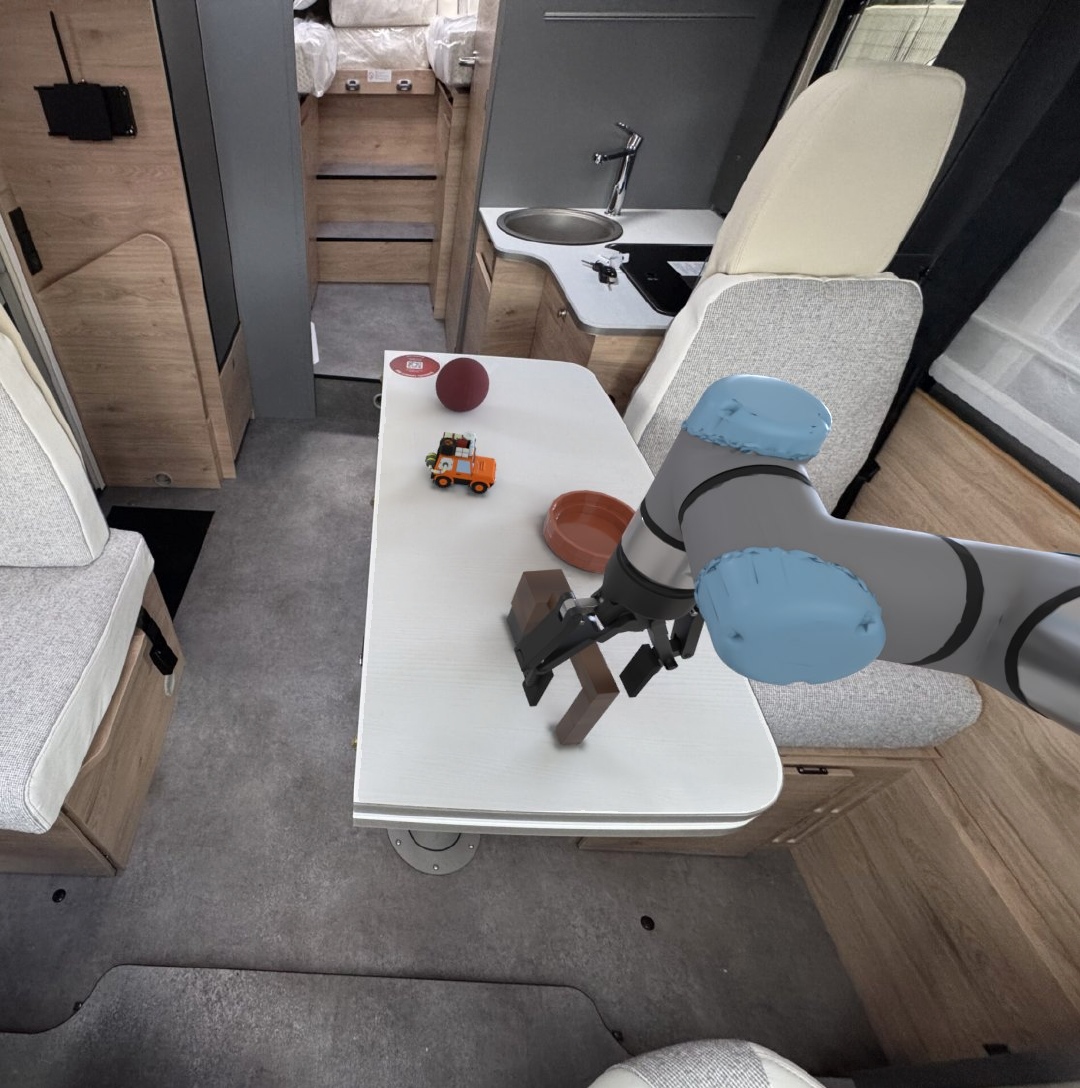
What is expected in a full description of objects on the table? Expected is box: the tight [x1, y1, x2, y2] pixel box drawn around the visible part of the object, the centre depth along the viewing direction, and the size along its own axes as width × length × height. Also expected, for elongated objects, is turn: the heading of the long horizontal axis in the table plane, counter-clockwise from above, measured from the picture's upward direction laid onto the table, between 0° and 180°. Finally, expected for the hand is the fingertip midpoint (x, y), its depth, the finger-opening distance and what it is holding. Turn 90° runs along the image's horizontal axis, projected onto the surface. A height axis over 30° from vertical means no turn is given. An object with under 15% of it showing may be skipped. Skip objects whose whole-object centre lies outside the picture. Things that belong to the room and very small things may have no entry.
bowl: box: [542, 489, 637, 574], centre depth 87 cm, size 14×14×4 cm
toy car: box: [424, 431, 498, 495], centre depth 94 cm, size 7×12×9 cm, turn 80°
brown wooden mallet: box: [506, 568, 621, 747], centre depth 68 cm, size 18×5×12 cm, turn 7°
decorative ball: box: [435, 356, 490, 413], centre depth 108 cm, size 10×10×10 cm
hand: (578, 690), depth 63 cm, fingers open, 11 cm apart
